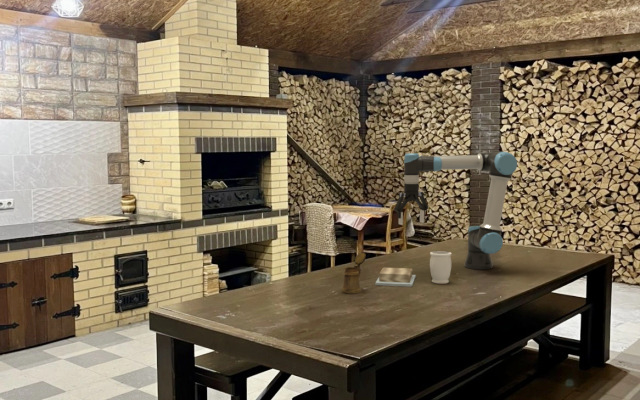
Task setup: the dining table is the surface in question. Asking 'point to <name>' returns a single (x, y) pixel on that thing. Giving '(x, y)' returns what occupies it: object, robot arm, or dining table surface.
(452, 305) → the dining table surface
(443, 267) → the jar
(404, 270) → the tan flat block
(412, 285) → the board
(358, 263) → the wooden mug
